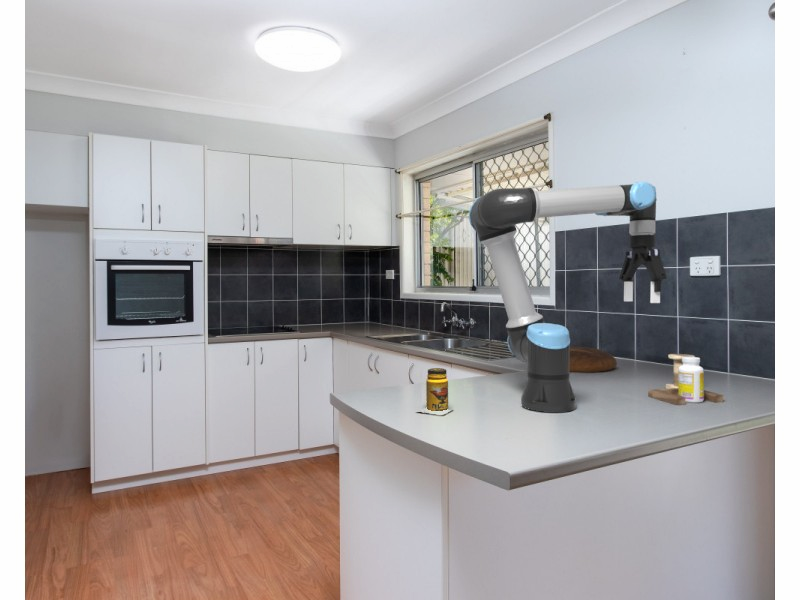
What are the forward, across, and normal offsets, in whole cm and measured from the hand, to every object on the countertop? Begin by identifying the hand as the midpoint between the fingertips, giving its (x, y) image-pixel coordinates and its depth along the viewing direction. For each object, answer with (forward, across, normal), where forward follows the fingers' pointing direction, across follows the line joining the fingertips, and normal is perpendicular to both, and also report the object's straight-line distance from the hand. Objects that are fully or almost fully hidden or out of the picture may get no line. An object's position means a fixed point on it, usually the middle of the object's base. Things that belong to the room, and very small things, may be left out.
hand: (641, 302), depth 169 cm
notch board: (+29, -11, -8) cm, 32 cm away
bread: (+29, +50, -8) cm, 58 cm away
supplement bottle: (+29, -13, -8) cm, 33 cm away
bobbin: (+29, +1, -16) cm, 33 cm away
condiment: (+30, -9, +70) cm, 76 cm away
